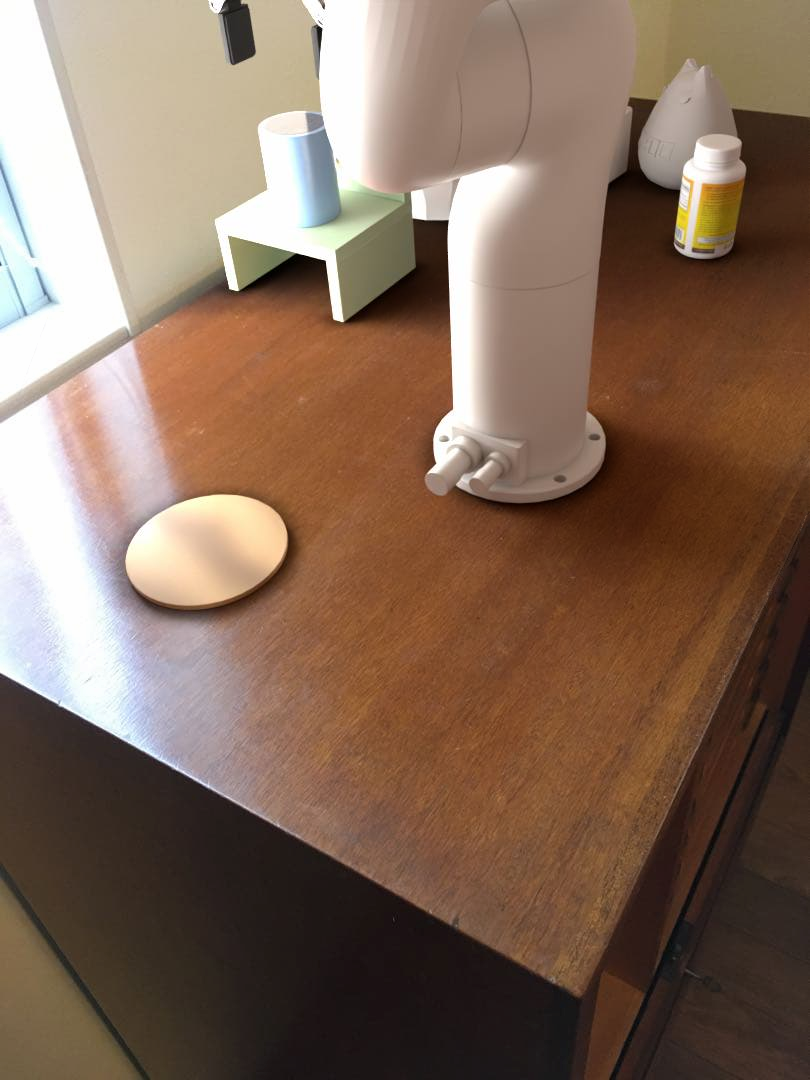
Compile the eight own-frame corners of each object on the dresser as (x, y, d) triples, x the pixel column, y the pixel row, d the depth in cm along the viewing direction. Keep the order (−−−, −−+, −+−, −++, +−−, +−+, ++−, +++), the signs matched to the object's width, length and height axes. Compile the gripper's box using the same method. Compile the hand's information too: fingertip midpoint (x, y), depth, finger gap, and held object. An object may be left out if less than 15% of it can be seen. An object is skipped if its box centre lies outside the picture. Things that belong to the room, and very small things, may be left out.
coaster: (213, 634, 58) (211, 630, 58) (92, 571, 63) (90, 567, 63) (320, 530, 64) (320, 526, 64) (204, 481, 69) (202, 476, 69)
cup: (313, 233, 83) (300, 141, 78) (258, 220, 86) (242, 130, 80) (355, 206, 87) (346, 116, 81) (301, 194, 90) (289, 106, 84)
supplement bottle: (743, 247, 91) (764, 140, 84) (707, 267, 88) (726, 158, 81) (696, 230, 94) (713, 126, 87) (660, 249, 92) (674, 142, 85)
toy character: (616, 172, 106) (626, 57, 98) (696, 154, 108) (713, 41, 100) (666, 205, 99) (682, 85, 91) (750, 185, 101) (773, 66, 93)
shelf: (343, 322, 85) (332, 228, 79) (229, 288, 91) (210, 198, 85) (416, 267, 92) (410, 176, 86) (305, 239, 98) (292, 153, 92)
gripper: (127, -185, 68) (179, 68, 80) (314, -181, 60) (341, 97, 72) (197, -199, 72) (237, 42, 84) (380, -197, 65) (395, 68, 76)
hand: (285, 67), depth 78 cm, fingers open, 9 cm apart
